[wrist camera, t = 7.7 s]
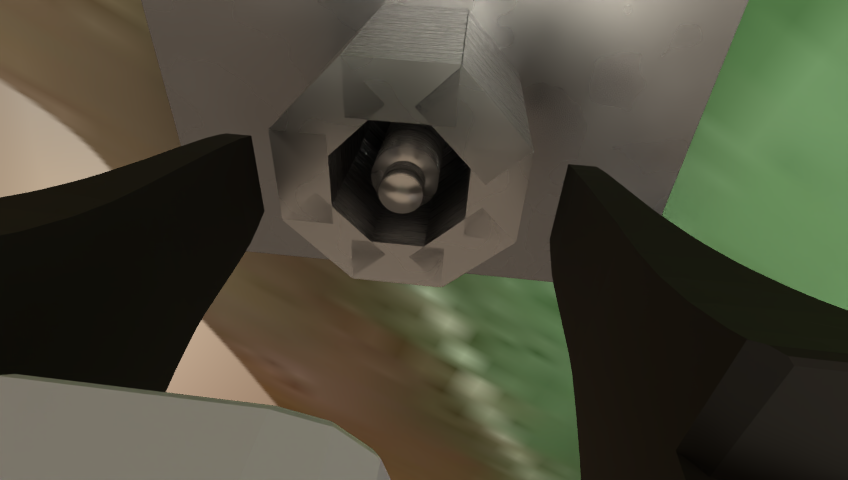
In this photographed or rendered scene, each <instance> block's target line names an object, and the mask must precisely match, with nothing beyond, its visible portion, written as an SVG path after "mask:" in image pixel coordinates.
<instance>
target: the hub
mask: <svg viewBox="0 0 848 480" xmlns="http://www.w3.org/2000/svg"><path fill="white" fill-rule="evenodd" d="M373 120H378V121H390V122H402V123H414V124H426V125H431V126H432V127H433V128H434V129H435V130H436V131H437V132H438V133H439V134H440V135H441V137H442V138H443V139H444V140H445V141H446V142H447V143H448V144H449V145H448V146H447V147H446V148H445V149H444V150H443V156H442V163H441V169H440V175H439V182H438V187H437V191H436V193H435V194H434V196H433V197H432V198H431V200H429V201H428V202H427V203H425V204H424V205H422V206H419V207H418V208H417V209H416V210H414V211H412V212H410V213H405V214H400V213H395V212H392V211H390V210H388V209H387V208H386V207H385V206H384V205H383V204H382V203H381V201H380V199H379V195H378V194H377V193H376V191H375V189H374V187H373V185H372V181H371V172H372V168H373V165H374V163H375V160H376V158H377V155H378V153H379V150H380V148H381V145H382V143H383V140H384V138H385V135H386V133H385V132H384V131H383V130H382V129H381V128H380V127H379V126H378V125H377V124H376V123H375V122H374V121H373ZM268 131H269V137H270V144H271V150H272V156H273V163H274V169H275V176H276V182H277V189H278V195H279V202H280V208H281V215H282V219H283V221H284V222H286V223H287V224H288V225H289V226H290V227H292V228H293V229H294V230H295V231H296V232H298V233H299V234H300V235H301V236H302V237H304V238H305V239H306V240H307V241H308V242H310V243H311V244H312V245H313V246H314V247H316V248H317V249H318V250H319V251H320V252H322V253H323V254H324V255H325V256H326V257H328V258H329V259H330V260H331V261H332V262H334V263H335V264H336V265H337V266H338V267H340V268H341V269H342V270H343V271H344V272H346V273H347V274H348V275H349V276H350V277H353V278H355V279H365V280H374V281H384V282H394V283H404V284H414V285H423V286H433V287H441V286H442V287H443V286H445V285H446V284H448V283H450V282H451V281H453V280H455V279H456V278H458V277H460V276H461V275H463V274H465V273H466V272H468V271H469V270H471V269H473V268H474V267H476V266H478V265H479V264H481V263H483V262H484V261H486V260H488V259H489V258H491V257H493V256H494V255H496V254H498V253H499V252H501V251H502V250H504V249H506V248H507V247H509V246H511V245H512V244H514V243H515V242H516V240H517V235H518V230H519V225H520V220H521V215H522V210H523V205H524V200H525V195H526V190H527V185H528V180H529V175H530V170H531V165H532V160H533V154H534V151H533V146H532V140H531V135H530V130H529V124H528V119H527V114H526V108H525V103H524V98H523V92H522V87H521V82H520V76H519V73H518V72H517V70H516V69H515V68H514V66H513V65H512V64H511V63H510V61H509V60H508V59H507V57H506V56H505V55H504V53H503V52H502V51H501V50H500V48H499V47H498V46H497V44H496V43H495V42H494V41H493V39H492V38H491V37H490V35H489V34H488V33H487V32H486V30H485V29H484V28H483V26H482V25H481V24H480V23H479V21H478V20H477V19H476V17H475V16H474V15H473V13H472V12H471V11H470V10H468V9H464V8H450V7H436V6H422V5H407V4H393V3H385V4H384V5H383V6H382V7H381V8H380V9H379V10H378V11H377V12H376V13H375V14H374V15H373V16H372V17H371V18H370V19H369V20H368V21H367V22H366V23H365V24H364V25H363V26H362V27H361V28H360V30H359V31H358V32H357V33H356V34H355V35H354V36H353V37H352V38H351V39H350V40H349V41H348V42H347V43H346V44H345V45H344V46H343V47H342V48H341V49H340V50H339V51H338V52H337V53H336V54H335V55H334V57H333V58H332V59H331V60H330V61H329V62H328V63H327V64H326V65H325V66H324V67H323V69H322V70H321V71H320V72H319V73H318V74H317V75H316V76H315V78H314V79H313V80H312V81H311V82H310V83H309V84H308V85H307V86H306V88H305V89H304V90H303V91H302V92H301V93H300V94H299V95H298V96H297V98H296V99H295V100H294V101H293V102H292V103H291V104H290V105H289V107H288V108H287V109H286V110H285V111H284V112H283V113H282V114H281V115H280V117H279V118H278V119H277V120H276V121H275V122H274V123H273V124H272V125H271V127H270V128H269V130H268Z"/></svg>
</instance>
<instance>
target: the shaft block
mask: <svg viewBox="0 0 848 480" xmlns="http://www.w3.org/2000/svg"><path fill="white" fill-rule="evenodd" d="M141 1H142V5H143V8H144V12H145V16H146V19H147V23H148V27H149V30H150V34H151V38H152V41H153V45H154V49H155V52H156V56H157V60H158V63H159V67H160V70H161V74H162V78H163V81H164V85H165V89H166V92H167V96H168V100H169V103H170V107H171V111H172V114H173V118H174V122H175V125H176V129H177V132H178V136H179V140H180V143H181V146H183V145H186V144H189V143H192V142H195V141H198V140H201V139H204V138H207V137H211V136H215V135H219V134H225V133H228V134H239V135H250V136H252V142H253V148H254V153H255V159H256V165H257V170H258V176H259V182H260V188H261V193H262V199H263V205H264V210H265V211H264V214H263V216H262V219H261V221H260V223H259V226H258V228H257V231H256V233H255V235H254V237H253V239H252V241H251V244H250V245H249V247H248V248H247V250H246V251H250V252H260V253H270V254H280V255H290V256H300V257H310V258H320V259H329V258H328V257H326V256H325V255H324V254H323V253H322V252H320V251H319V250H318V249H317V248H316V247H314V246H313V245H312V244H311V243H310V242H308V241H307V240H306V239H305V238H304V237H302V236H301V235H300V234H299V233H298V232H296V231H295V230H294V229H293V228H292V227H290V226H289V225H288V224H287V223H286V222H284V221H283V219H282V215H281V208H280V202H279V195H278V189H277V182H276V176H275V169H274V163H273V156H272V150H271V144H270V137H269V131H268V130H269V128H270V127H271V125H272V124H273V123H274V122H275V121H276V120H277V119H278V118H279V117H280V115H281V114H282V113H283V112H284V111H285V110H286V109H287V108H288V107H289V105H290V104H291V103H292V102H293V101H294V100H295V99H296V98H297V96H298V95H299V94H300V93H301V92H302V91H303V90H304V89H305V88H306V86H307V85H308V84H309V83H310V82H311V81H312V80H313V79H314V78H315V76H316V75H317V74H318V73H319V72H320V71H321V70H322V69H323V67H324V66H325V65H326V64H327V63H328V62H329V61H330V60H331V59H332V58H333V57H334V55H335V54H336V53H337V52H338V51H339V50H340V49H341V48H342V47H343V46H344V45H345V44H346V43H347V42H348V41H349V40H350V39H351V38H352V37H353V36H354V35H355V34H356V33H357V32H358V31H359V30H360V28H361V27H362V26H363V25H364V24H365V23H366V22H367V21H368V20H369V19H370V18H371V17H372V16H373V15H374V14H375V13H376V12H377V11H378V10H379V9H380V8H381V7H382V6H383V5H384V4H385V3H393V4H407V5H422V6H436V7H450V8H464V9H468V10H470V11H471V12H472V13H473V15H474V16H475V17H476V19H477V20H478V21H479V23H480V24H481V25H482V26H483V28H484V29H485V30H486V32H487V33H488V34H489V35H490V37H491V38H492V39H493V41H494V42H495V43H496V44H497V46H498V47H499V48H500V50H501V51H502V52H503V53H504V55H505V56H506V57H507V59H508V60H509V61H510V63H511V64H512V65H513V66H514V68H515V69H516V70H517V72H518V73H519V76H520V82H521V87H522V92H523V98H524V103H525V108H526V114H527V119H528V124H529V130H530V135H531V140H532V146H533V151H534V154H533V160H532V165H531V170H530V175H529V180H528V185H527V190H526V195H525V200H524V205H523V210H522V215H521V220H520V225H519V230H518V235H517V240H516V242H515V243H514V244H512V245H511V246H509V247H507V248H506V249H504V250H502V251H501V252H499V253H498V254H496V255H494V256H493V257H491V258H489V259H488V260H486V261H484V262H483V263H481V264H479V265H478V266H476V267H474V268H473V269H471V270H469V271H468V272H466V273H469V274H479V275H489V276H499V277H509V278H519V279H528V280H538V281H548V282H553V278H552V271H551V258H550V235H551V231H552V227H553V223H554V219H555V215H556V211H557V207H558V203H559V199H560V195H561V191H562V187H563V183H564V179H565V175H566V171H567V167H568V164H573V165H584V166H596V167H598V168H600V169H601V170H603V171H604V172H606V173H607V174H608V175H610V176H611V177H612V178H614V179H615V180H616V181H617V182H619V183H620V184H621V185H623V186H624V187H625V188H626V189H628V190H629V191H630V192H631V193H633V194H634V195H635V196H636V197H638V198H639V199H640V200H641V201H643V202H644V203H645V204H647V205H648V206H649V207H651V208H652V209H653V210H655V211H656V212H657V213H659V214H660V215H662V213H663V210H664V208H665V205H666V203H667V200H668V198H669V195H670V193H671V190H672V188H673V185H674V183H675V181H676V178H677V176H678V173H679V171H680V168H681V166H682V163H683V161H684V158H685V156H686V153H687V151H688V148H689V146H690V144H691V141H692V139H693V136H694V134H695V131H696V129H697V126H698V124H699V121H700V119H701V116H702V114H703V111H704V109H705V107H706V104H707V102H708V99H709V97H710V94H711V92H712V89H713V87H714V84H715V82H716V79H717V77H718V74H719V72H720V70H721V67H722V65H723V62H724V60H725V57H726V55H727V52H728V50H729V47H730V45H731V42H732V40H733V37H734V35H735V33H736V30H737V28H738V25H739V23H740V20H741V18H742V15H743V13H744V10H745V8H746V5H747V3H748V0H141ZM373 121H374V122H375V123H376V124H377V125H378V126H379V127H380V128H381V129H382V130H383V131H384V132H385V133H386V135H385V138H384V140H383V143H382V145H381V148H380V150H379V153H378V155H377V158H376V160H375V163H374V165H373V168H372V172H371V181H372V185H373V187H374V189H375V191H376V193H377V194H378V195H379V199H380V201H381V203H382V204H383V205H384V206H385V207H386V208H387V209H388V210H390V211H392V212H395V213H400V214H405V213H410V212H412V211H414V210H416V209H417V208H418V207H419V206H422V205H424V204H425V203H427V202H428V201H429V200H431V198H432V197H433V196H434V194H435V193H436V191H437V187H438V182H439V175H440V169H441V163H442V156H443V150H444V149H445V148H446V147H447V146H448V145H449V144H448V143H447V142H446V141H445V140H444V139H443V138H442V137H441V135H440V134H439V133H438V132H437V131H436V130H435V129H434V128H433V127H432V126H431V125H426V124H414V123H402V122H390V121H378V120H373Z"/></svg>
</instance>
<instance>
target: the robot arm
mask: <svg viewBox="0 0 848 480" xmlns="http://www.w3.org/2000/svg"><path fill="white" fill-rule="evenodd" d="M264 211H265V210H264V205H263V199H262V193H261V188H260V182H259V176H258V170H257V165H256V159H255V153H254V148H253V142H252V136H250V135H239V134H228V133H225V134H219V135H215V136H211V137H207V138H204V139H201V140H198V141H195V142H192V143H189V144H186V145H183V146H181V147H178V148H175V149H172V150H169V151H167V152H164V153H161V154H158V155H156V156H153V157H150V158H147V159H144V160H141V161H138V162H135V163H132V164H129V165H126V166H123V167H120V168H117V169H114V170H111V171H108V172H105V173H102V174H99V175H96V176H92V177H89V178H85V179H81V180H78V181H74V182H70V183H67V184H62V185H58V186H54V187H50V188H47V189H42V190H37V191H33V192H28V193H22V194H17V195H12V196H6V197H1V198H0V480H391V479H390V477H389V475H388V473H387V471H386V469H385V467H384V465H383V462H382V460H381V458H380V457H379V456H378V455H377V454H376V453H375V451H374V450H373V449H372V448H370V447H369V446H367V445H366V444H364V443H363V442H361V441H360V440H358V439H357V438H355V437H354V436H352V435H351V434H349V433H348V432H346V431H345V430H343V429H342V428H340V427H339V426H338V425H336V424H335V423H333V422H332V421H328V420H324V419H321V418H317V417H314V416H310V415H306V414H303V413H299V412H296V411H292V410H288V409H285V408H281V407H278V406H273V405H265V404H256V403H248V402H240V401H231V400H223V399H215V398H207V397H199V396H190V395H183V394H174V393H167V392H166V390H167V388H168V385H169V383H170V381H171V379H172V377H173V375H174V372H175V370H176V368H177V366H178V364H179V362H180V360H181V358H182V356H183V354H184V352H185V349H186V348H187V346H188V344H189V342H190V340H191V338H192V336H193V334H194V332H195V330H196V328H197V326H198V325H199V323H200V321H201V320H202V318H203V316H204V314H205V313H206V311H207V310H208V308H209V307H210V305H211V304H212V302H213V301H214V299H215V298H216V296H217V295H218V293H219V292H220V290H221V289H222V287H223V285H224V284H225V282H226V281H227V279H228V278H229V276H230V275H231V273H232V272H233V270H234V269H235V267H236V266H237V264H238V263H239V261H240V259H241V258H242V256H243V255H244V253H245V252H246V250H247V248H248V247H249V245H250V244H251V241H252V239H253V237H254V235H255V233H256V231H257V228H258V226H259V223H260V221H261V219H262V216H263V214H264ZM550 258H551V271H552V278H553V283H554V288H555V293H556V297H557V302H558V307H559V311H560V316H561V320H562V325H563V329H564V334H565V338H566V343H567V347H568V352H569V357H570V363H571V368H572V375H573V385H574V395H575V405H576V416H577V428H578V440H579V453H580V468H581V480H848V311H847V310H845V309H842V308H839V307H837V306H834V305H831V304H829V303H826V302H824V301H821V300H818V299H816V298H814V297H811V296H809V295H806V294H804V293H802V292H799V291H797V290H794V289H792V288H790V287H787V286H785V285H783V284H781V283H779V282H777V281H775V280H772V279H770V278H768V277H766V276H764V275H762V274H760V273H757V272H755V271H753V270H751V269H749V268H747V267H745V266H743V265H741V264H739V263H737V262H735V261H734V260H732V259H730V258H728V257H726V256H725V255H723V254H721V253H719V252H718V251H716V250H714V249H712V248H710V247H709V246H707V245H705V244H703V243H702V242H700V241H699V240H697V239H695V238H694V237H692V236H691V235H689V234H688V233H686V232H685V231H683V230H682V229H680V228H679V227H677V226H676V225H674V224H673V223H671V222H670V221H668V220H667V219H666V218H664V217H663V216H661V215H660V214H659V213H657V212H656V211H655V210H653V209H652V208H651V207H649V206H648V205H647V204H645V203H644V202H643V201H641V200H640V199H639V198H638V197H636V196H635V195H634V194H633V193H631V192H630V191H629V190H628V189H626V188H625V187H624V186H623V185H621V184H620V183H619V182H617V181H616V180H615V179H614V178H612V177H611V176H610V175H608V174H607V173H606V172H604V171H603V170H601V169H600V168H598V167H596V166H584V165H573V164H568V167H567V171H566V175H565V179H564V183H563V187H562V191H561V195H560V199H559V203H558V207H557V211H556V215H555V219H554V223H553V227H552V231H551V235H550Z"/></svg>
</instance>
